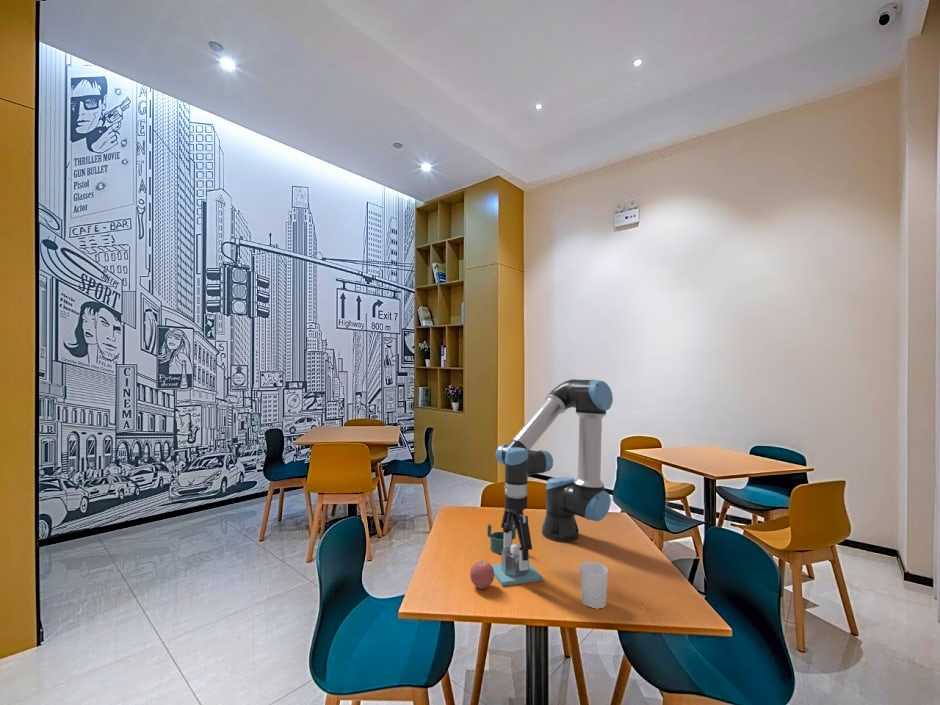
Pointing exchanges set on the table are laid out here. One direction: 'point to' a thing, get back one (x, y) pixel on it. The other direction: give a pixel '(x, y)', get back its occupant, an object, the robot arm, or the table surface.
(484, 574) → the apple
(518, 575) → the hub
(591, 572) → the white cup
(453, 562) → the table surface
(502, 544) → the bracket
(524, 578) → the stand
